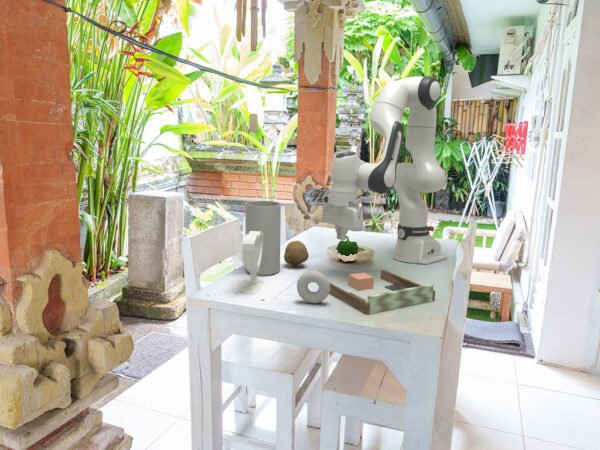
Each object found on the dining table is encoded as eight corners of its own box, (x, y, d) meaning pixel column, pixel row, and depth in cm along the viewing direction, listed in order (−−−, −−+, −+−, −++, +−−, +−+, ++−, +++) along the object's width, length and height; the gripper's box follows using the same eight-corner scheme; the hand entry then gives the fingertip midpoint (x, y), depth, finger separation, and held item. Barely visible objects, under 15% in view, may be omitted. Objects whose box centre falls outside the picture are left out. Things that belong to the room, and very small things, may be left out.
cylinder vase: (281, 275, 164) (282, 206, 159) (246, 276, 161) (246, 206, 157) (277, 265, 176) (278, 200, 171) (244, 266, 174) (244, 201, 169)
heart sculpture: (256, 295, 143) (256, 238, 140) (240, 294, 144) (240, 238, 140) (265, 279, 159) (265, 228, 155) (250, 279, 159) (250, 228, 156)
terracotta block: (363, 283, 157) (363, 272, 157) (373, 289, 152) (373, 277, 151) (348, 285, 155) (348, 274, 154) (357, 291, 149) (358, 279, 149)
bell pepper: (356, 264, 179) (357, 239, 177) (335, 263, 181) (336, 238, 179) (358, 259, 187) (359, 235, 185) (338, 257, 189) (339, 234, 187)
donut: (295, 303, 137) (296, 271, 135) (297, 299, 140) (298, 268, 138) (328, 306, 135) (330, 273, 133) (330, 302, 139) (331, 270, 137)
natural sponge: (312, 265, 177) (313, 240, 175) (300, 271, 169) (301, 244, 167) (292, 262, 181) (292, 237, 179) (280, 267, 174) (280, 241, 172)
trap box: (382, 277, 163) (383, 264, 162) (434, 300, 142) (435, 284, 141) (320, 288, 151) (320, 273, 150) (366, 314, 130) (367, 297, 129)
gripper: (369, 203, 151) (366, 245, 153) (334, 196, 168) (332, 233, 171) (353, 204, 148) (350, 246, 150) (320, 196, 165) (318, 234, 168)
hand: (340, 239), depth 161 cm, fingers closed
